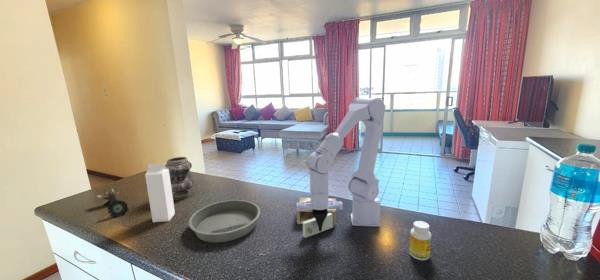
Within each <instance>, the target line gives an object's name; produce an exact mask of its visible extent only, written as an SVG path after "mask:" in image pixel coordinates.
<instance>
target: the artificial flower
mask: <svg viewBox="0 0 600 280" xmlns="http://www.w3.org/2000/svg"><path fill="white" fill-rule="evenodd" d="M108 189H109V190H110V192H109V191H105V196H103V195H101V194H98V195H97V197H96V198H99V199H101V200H106V201H105V202H106V203H107V202H111V203H110V204H109V205H108V206H107V211H108V215H110V217H111V218H116V217H115V216H117V217H120V216H119V215H122V214H123V215H122V216H124V215H125V214H126V213H128V211H129V206H128V203H127V202H126V201H123V200H120V199H118V197H117V195H119V193H120V192H121V190H119V191H118V192H117V193H116V194H115V189H113V187H111V186H109V187H108Z"/></svg>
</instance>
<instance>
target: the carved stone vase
mask: <svg viewBox="0 0 600 280" xmlns="http://www.w3.org/2000/svg"><path fill="white" fill-rule="evenodd" d="M165 167H166V168H167V169H169V175H170V182H171V189H172V196H173V201H174V200H176V201H177V200H183V199H187V198H190V197H191V196H192V195H193V194H194V191H193V190H191V188H192V187H193V186H194V185H195V179H193V178H192V177H191V172H190V171H191V168H192V163H191V162H190V161H188V157H186V156H177V157H171V158H169V159H167V160H166V164H165Z"/></svg>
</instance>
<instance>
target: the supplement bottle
mask: <svg viewBox="0 0 600 280" xmlns="http://www.w3.org/2000/svg"><path fill="white" fill-rule="evenodd" d="M409 233H410V234H409V236H410V237H409V246H408V247H409V254H410V256H411V257H412V258H414V259H416V260H419V261H427V260H429V259H430V257H431V247H432V244H431V243H432V233H431V232H430V225H429V223H427V222H426V221H423V220H416V221H413V226H412V228H411V230H410V232H409Z"/></svg>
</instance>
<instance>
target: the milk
mask: <svg viewBox="0 0 600 280" xmlns="http://www.w3.org/2000/svg"><path fill="white" fill-rule="evenodd" d="M165 165H166V164H165V163H164V162H163V163H148V164H147V169H146V173H145V174H144V177H145V182H146V189H147V195H148V201H149V208H150V214H151V219H152V223H161V222H170V221H171V219H172V218H173V217H174V215H175V214H176V212H175V205H174V204H175V203H174V199H173V196H172V194H173V192H172V189H171V182H170V175H169V169H167V168H166V167H165Z"/></svg>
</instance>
